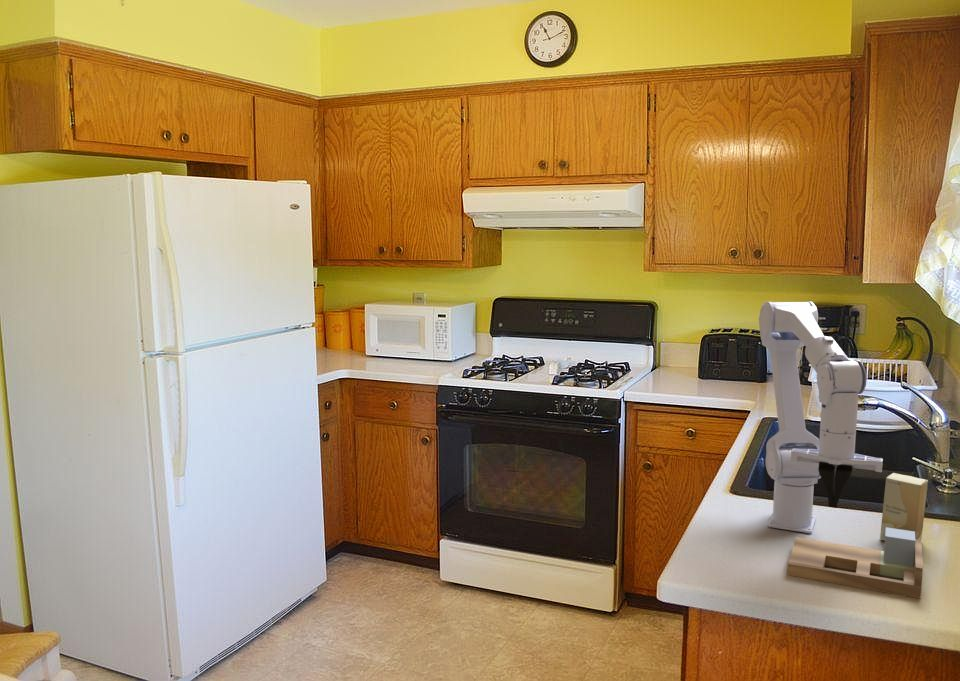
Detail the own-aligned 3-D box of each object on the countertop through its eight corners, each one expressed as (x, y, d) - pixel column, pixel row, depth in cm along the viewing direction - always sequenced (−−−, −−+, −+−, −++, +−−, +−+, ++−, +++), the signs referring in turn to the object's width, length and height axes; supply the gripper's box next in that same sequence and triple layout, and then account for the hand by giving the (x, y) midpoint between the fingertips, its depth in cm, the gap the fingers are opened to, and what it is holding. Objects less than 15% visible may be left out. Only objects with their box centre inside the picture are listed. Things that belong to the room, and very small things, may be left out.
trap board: (795, 547, 152) (797, 521, 152) (919, 567, 144) (921, 540, 143) (786, 574, 141) (788, 546, 140) (920, 598, 132) (922, 568, 131)
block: (884, 552, 145) (885, 527, 145) (913, 556, 143) (915, 531, 143) (883, 561, 141) (885, 536, 141) (913, 566, 139) (915, 540, 139)
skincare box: (879, 540, 156) (883, 477, 154) (886, 533, 159) (891, 471, 157) (916, 549, 152) (921, 484, 150) (923, 542, 155) (928, 478, 153)
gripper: (790, 430, 143) (786, 506, 145) (884, 440, 137) (878, 519, 139) (795, 421, 150) (791, 494, 152) (884, 430, 143) (879, 506, 145)
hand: (833, 505), depth 146 cm, fingers closed
